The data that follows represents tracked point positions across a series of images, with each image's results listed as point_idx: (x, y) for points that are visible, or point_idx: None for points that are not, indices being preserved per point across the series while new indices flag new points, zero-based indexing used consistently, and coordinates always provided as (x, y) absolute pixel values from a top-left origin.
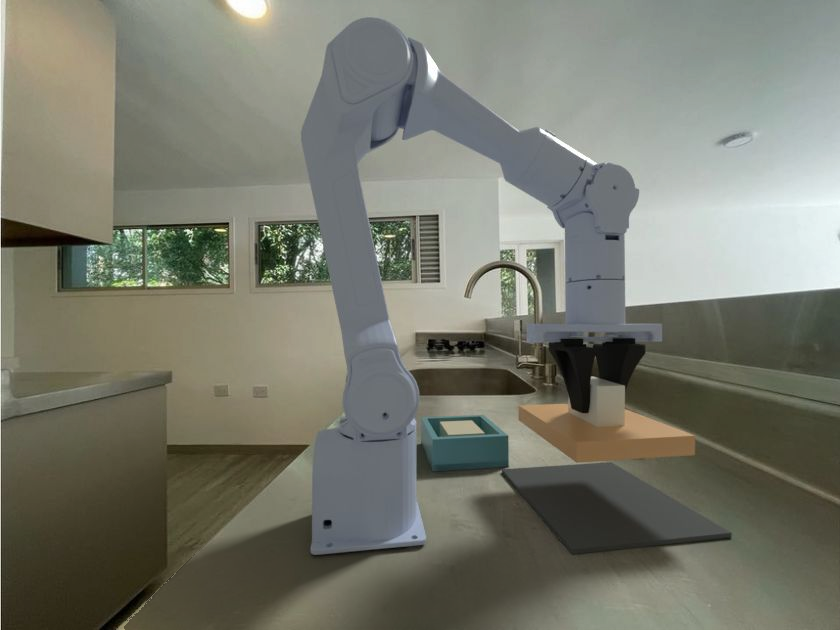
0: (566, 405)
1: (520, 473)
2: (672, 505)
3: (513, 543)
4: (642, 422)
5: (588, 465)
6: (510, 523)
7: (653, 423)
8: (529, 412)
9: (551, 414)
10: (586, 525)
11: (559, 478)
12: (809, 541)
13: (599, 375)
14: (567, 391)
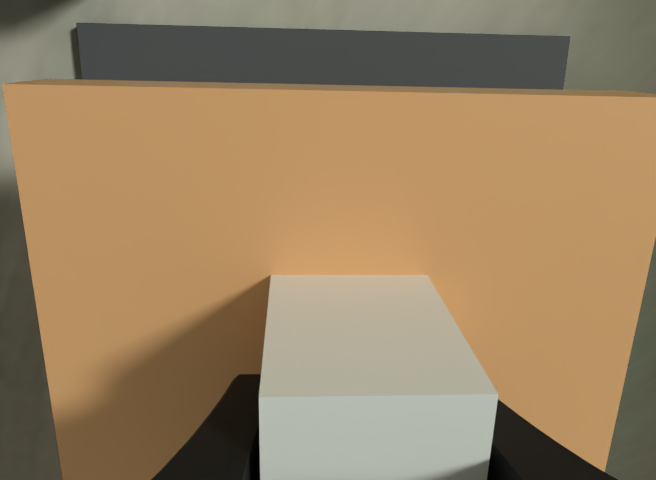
0: (349, 136)
1: (142, 73)
2: None
3: (2, 401)
4: None
5: (454, 51)
6: (17, 332)
7: None
8: (27, 247)
9: (146, 303)
10: None
11: None
12: (651, 464)
13: (510, 469)
14: (205, 419)
